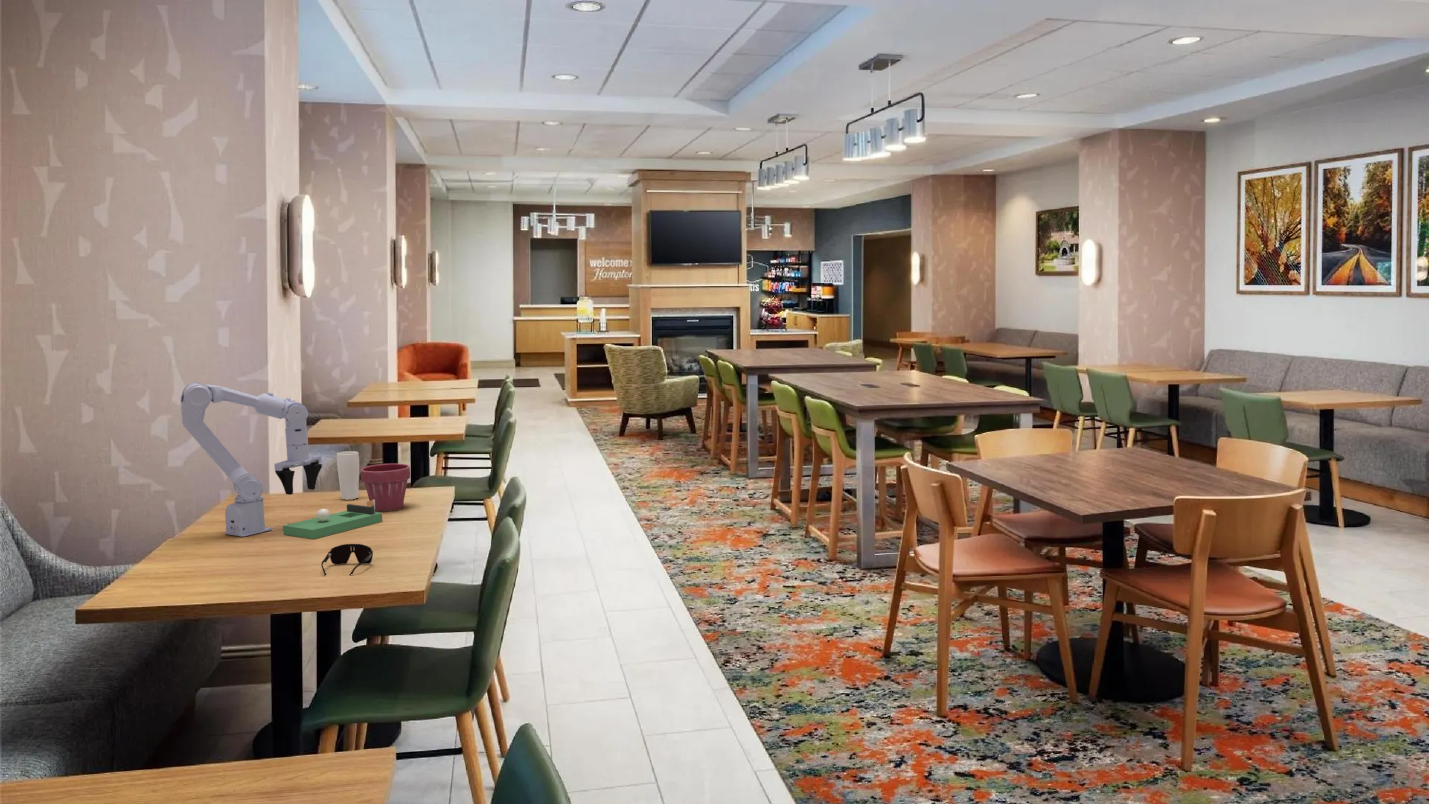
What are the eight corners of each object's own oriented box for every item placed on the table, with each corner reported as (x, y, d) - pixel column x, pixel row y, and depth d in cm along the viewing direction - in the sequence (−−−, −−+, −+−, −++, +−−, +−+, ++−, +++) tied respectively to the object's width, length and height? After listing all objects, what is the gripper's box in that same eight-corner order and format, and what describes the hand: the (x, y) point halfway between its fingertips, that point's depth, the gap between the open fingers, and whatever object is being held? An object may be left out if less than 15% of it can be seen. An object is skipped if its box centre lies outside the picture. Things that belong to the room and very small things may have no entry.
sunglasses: (375, 562, 253) (374, 543, 251) (361, 582, 241) (359, 562, 240) (332, 563, 252) (330, 543, 251) (315, 583, 241) (313, 563, 239)
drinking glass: (364, 497, 334) (362, 451, 333) (355, 501, 328) (353, 454, 326) (344, 496, 335) (342, 451, 333) (334, 501, 328) (332, 454, 327)
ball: (322, 523, 284) (322, 510, 284) (313, 522, 286) (313, 509, 286) (333, 520, 288) (332, 508, 287) (324, 519, 289) (323, 507, 289)
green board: (313, 539, 277) (312, 515, 276) (283, 534, 283) (282, 511, 282) (382, 521, 298) (381, 499, 297) (353, 517, 304) (352, 495, 303)
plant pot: (361, 514, 308) (359, 472, 306) (363, 505, 321) (362, 464, 320) (411, 511, 311) (409, 469, 310) (411, 502, 325) (410, 462, 323)
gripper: (285, 448, 283) (288, 497, 284) (327, 441, 295) (330, 488, 297) (268, 447, 286) (271, 495, 287) (310, 440, 299) (313, 486, 300)
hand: (300, 491), depth 292 cm, fingers open, 7 cm apart
